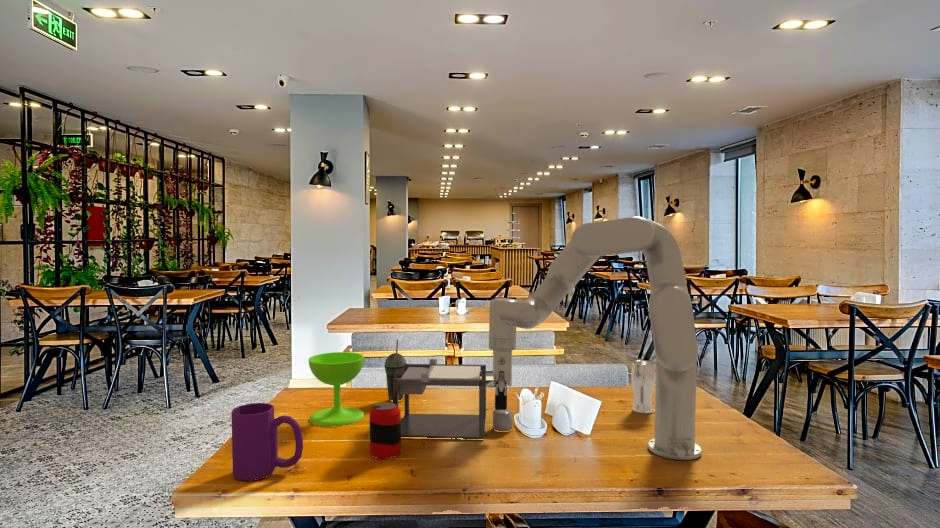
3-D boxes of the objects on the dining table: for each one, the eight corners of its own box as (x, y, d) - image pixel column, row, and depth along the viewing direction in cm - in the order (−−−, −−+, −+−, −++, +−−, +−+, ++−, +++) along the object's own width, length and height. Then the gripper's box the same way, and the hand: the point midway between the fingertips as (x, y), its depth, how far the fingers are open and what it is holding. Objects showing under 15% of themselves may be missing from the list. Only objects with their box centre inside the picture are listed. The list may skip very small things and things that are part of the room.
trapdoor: (478, 395, 148) (478, 377, 147) (399, 394, 149) (399, 376, 149) (480, 381, 162) (480, 365, 162) (409, 380, 163) (409, 364, 163)
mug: (240, 465, 131) (239, 403, 130) (307, 463, 132) (306, 401, 131) (226, 483, 122) (224, 415, 121) (298, 480, 123) (297, 413, 122)
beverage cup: (380, 402, 181) (379, 340, 180) (393, 396, 187) (392, 337, 186) (398, 405, 177) (398, 342, 176) (411, 399, 184) (410, 339, 183)
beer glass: (657, 414, 168) (658, 365, 167) (634, 414, 168) (635, 365, 167) (650, 407, 175) (651, 360, 174) (628, 407, 175) (628, 359, 174)
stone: (512, 433, 152) (512, 415, 152) (492, 432, 153) (492, 414, 152) (512, 426, 158) (512, 408, 157) (493, 425, 158) (493, 408, 158)
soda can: (367, 450, 140) (366, 403, 140) (396, 446, 143) (396, 400, 142) (373, 461, 133) (372, 412, 132) (404, 457, 136) (403, 408, 135)
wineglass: (369, 422, 161) (369, 361, 160) (312, 430, 155) (311, 366, 154) (359, 407, 175) (358, 350, 174) (306, 413, 170) (305, 354, 169)
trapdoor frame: (483, 441, 146) (483, 375, 145) (393, 439, 148) (392, 373, 147) (485, 418, 165) (485, 359, 164) (405, 416, 166) (405, 358, 165)
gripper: (516, 350, 145) (514, 414, 146) (515, 337, 162) (513, 395, 163) (487, 349, 146) (486, 413, 147) (489, 336, 163) (488, 394, 164)
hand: (500, 403), depth 155 cm, fingers open, 9 cm apart
